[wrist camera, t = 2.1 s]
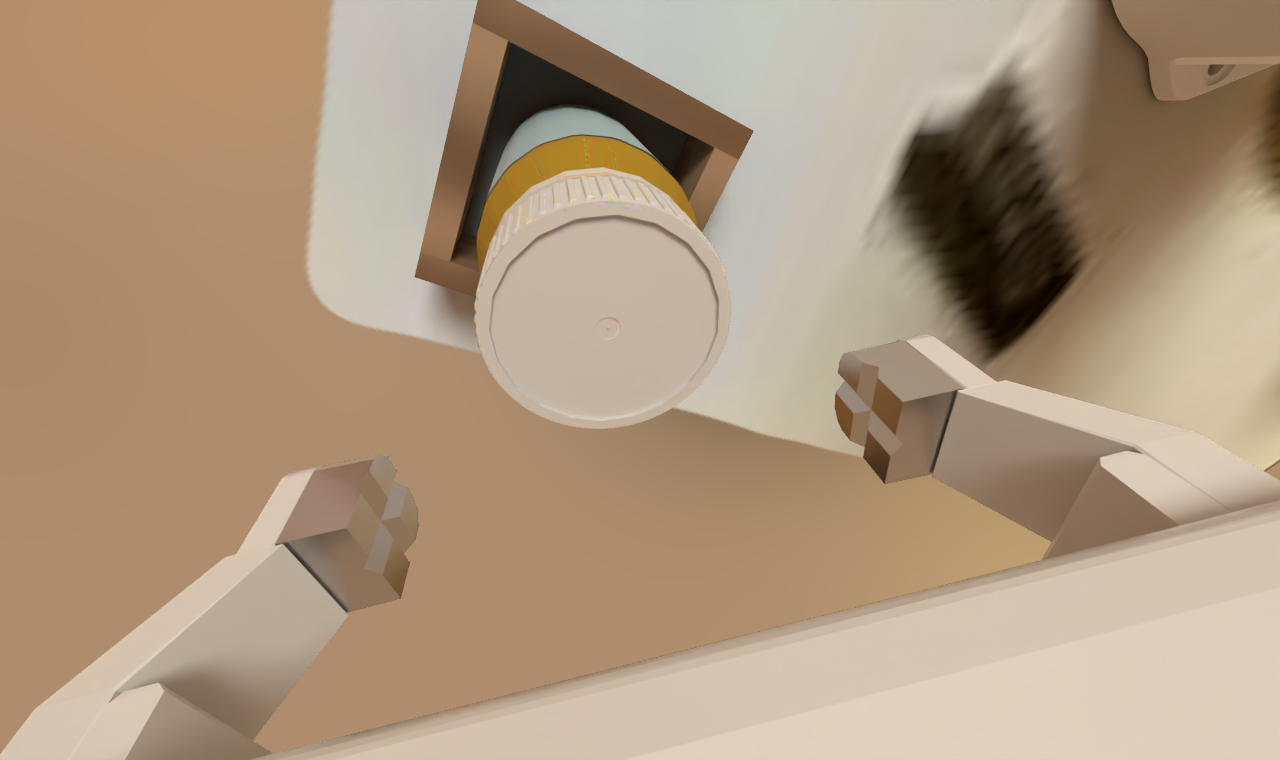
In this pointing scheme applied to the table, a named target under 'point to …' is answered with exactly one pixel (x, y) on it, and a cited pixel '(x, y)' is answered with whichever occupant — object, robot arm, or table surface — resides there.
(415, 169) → the table surface
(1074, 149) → the table surface
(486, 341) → the bottle
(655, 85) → the pocket
